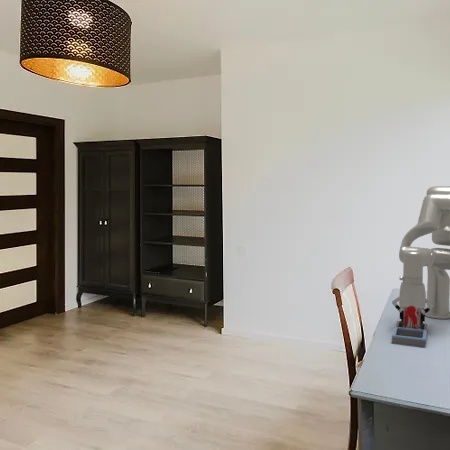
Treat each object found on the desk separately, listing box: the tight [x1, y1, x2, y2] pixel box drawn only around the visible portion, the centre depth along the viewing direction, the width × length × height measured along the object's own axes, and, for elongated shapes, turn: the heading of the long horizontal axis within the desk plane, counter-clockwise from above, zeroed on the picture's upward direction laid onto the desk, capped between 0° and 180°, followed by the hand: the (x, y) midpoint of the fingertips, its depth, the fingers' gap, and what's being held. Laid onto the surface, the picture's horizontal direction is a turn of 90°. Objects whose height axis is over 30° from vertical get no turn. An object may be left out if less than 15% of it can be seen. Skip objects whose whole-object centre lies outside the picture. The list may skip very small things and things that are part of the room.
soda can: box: [403, 304, 422, 329], centre depth 199 cm, size 7×7×12 cm
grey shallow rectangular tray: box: [391, 320, 428, 348], centre depth 194 cm, size 23×12×3 cm, turn 155°
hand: (412, 321), depth 199 cm, fingers closed on soda can, 7 cm apart
